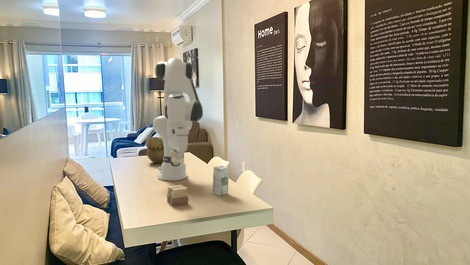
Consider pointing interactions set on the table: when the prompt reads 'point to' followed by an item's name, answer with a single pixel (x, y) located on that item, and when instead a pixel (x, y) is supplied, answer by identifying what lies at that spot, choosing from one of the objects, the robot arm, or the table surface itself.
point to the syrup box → (220, 180)
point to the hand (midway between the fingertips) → (177, 158)
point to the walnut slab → (177, 201)
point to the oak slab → (177, 191)
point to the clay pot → (155, 149)
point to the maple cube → (174, 157)
